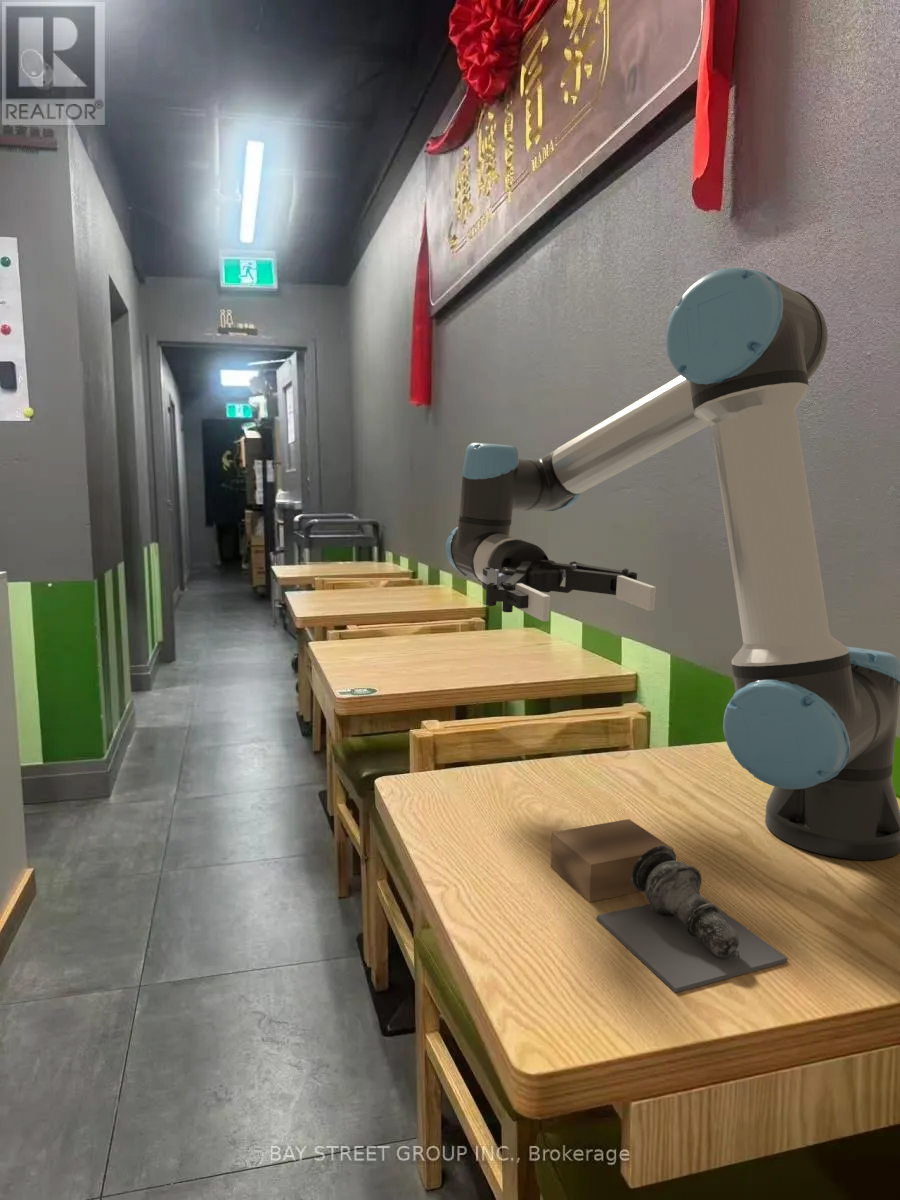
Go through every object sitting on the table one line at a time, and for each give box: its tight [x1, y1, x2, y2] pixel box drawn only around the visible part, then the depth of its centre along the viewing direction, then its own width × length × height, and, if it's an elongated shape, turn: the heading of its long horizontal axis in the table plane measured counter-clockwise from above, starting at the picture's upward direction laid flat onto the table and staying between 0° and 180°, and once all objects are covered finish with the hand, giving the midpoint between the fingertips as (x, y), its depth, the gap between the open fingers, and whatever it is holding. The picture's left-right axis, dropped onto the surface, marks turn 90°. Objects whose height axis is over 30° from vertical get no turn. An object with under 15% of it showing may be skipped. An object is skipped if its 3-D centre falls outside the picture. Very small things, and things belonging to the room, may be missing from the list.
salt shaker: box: [631, 846, 740, 958], centre depth 72 cm, size 6×6×12 cm
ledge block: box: [550, 818, 674, 903], centre depth 84 cm, size 8×10×4 cm
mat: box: [596, 895, 789, 993], centre depth 72 cm, size 12×12×1 cm
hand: (601, 603), depth 85 cm, fingers open, 13 cm apart
